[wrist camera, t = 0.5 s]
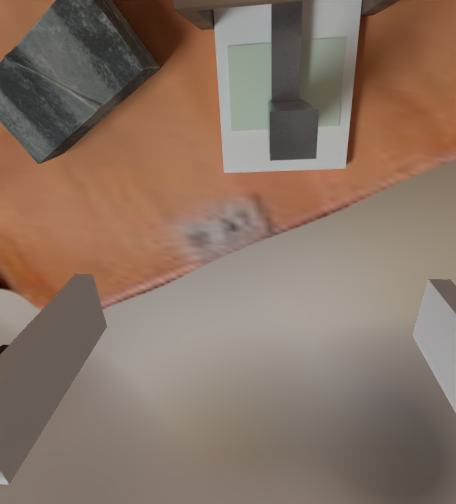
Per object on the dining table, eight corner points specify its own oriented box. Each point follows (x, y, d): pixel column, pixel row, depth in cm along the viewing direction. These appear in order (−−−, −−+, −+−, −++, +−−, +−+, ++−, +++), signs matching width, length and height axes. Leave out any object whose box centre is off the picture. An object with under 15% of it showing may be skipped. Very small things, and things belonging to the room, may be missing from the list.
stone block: (-2, 79, 34) (-45, 79, 29) (98, -28, 29) (66, -49, 24) (63, 155, 37) (33, 166, 32) (164, 69, 32) (146, 67, 27)
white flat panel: (199, -224, 23) (196, -238, 22) (383, -256, 22) (388, -272, 21) (225, 170, 35) (224, 173, 34) (343, 166, 34) (345, 168, 33)
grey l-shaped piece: (253, -91, 25) (245, -199, 15) (322, -100, 24) (361, -217, 15) (257, 135, 32) (254, 161, 22) (311, 133, 32) (332, 158, 22)
